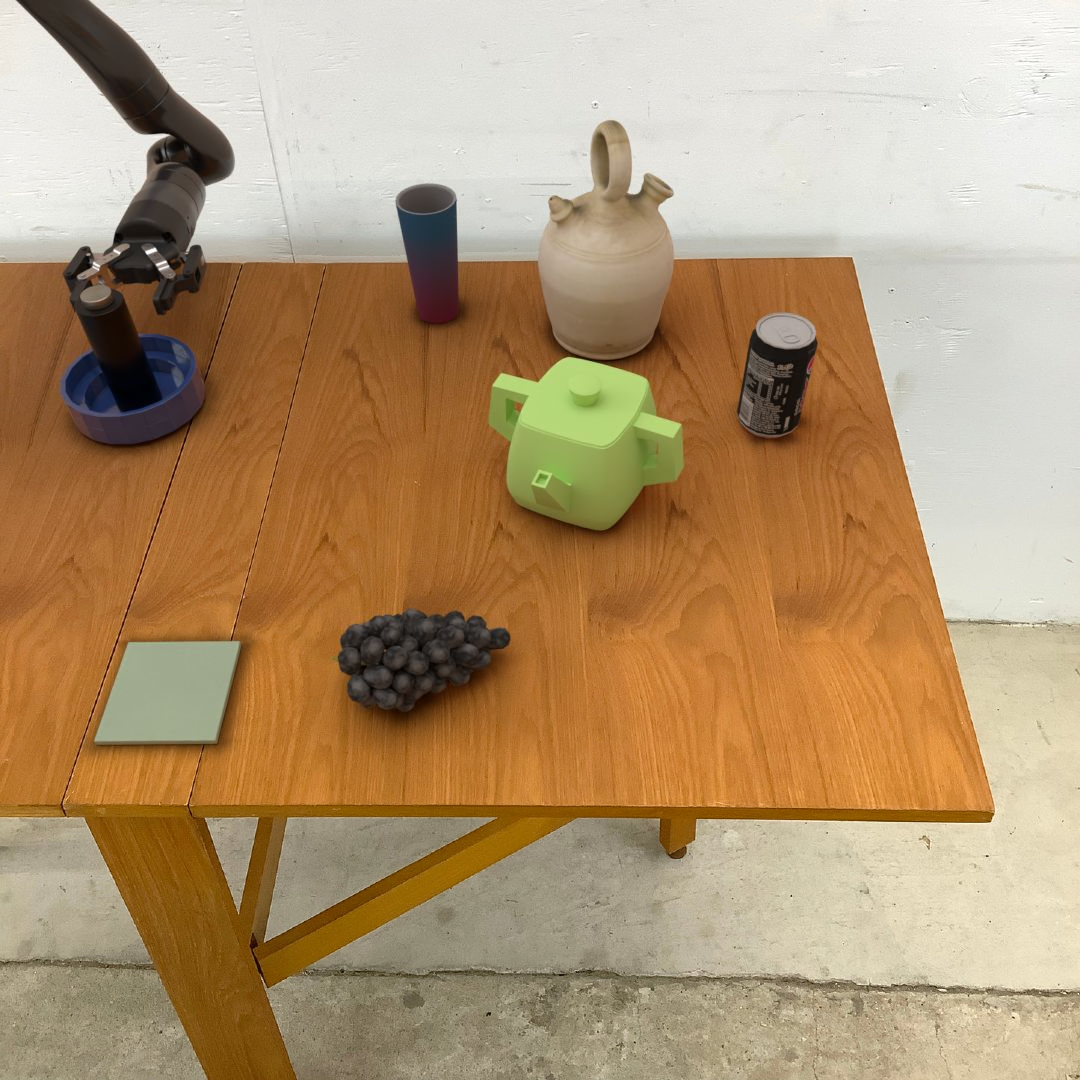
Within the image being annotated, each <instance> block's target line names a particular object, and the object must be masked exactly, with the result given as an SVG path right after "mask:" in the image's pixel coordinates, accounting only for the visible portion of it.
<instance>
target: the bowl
mask: <svg viewBox="0 0 1080 1080" xmlns="http://www.w3.org/2000/svg"><path fill="white" fill-rule="evenodd" d="M138 335H139V338H140V340H141V343H142V345H143V348H144V350H145V353H146V356H147V358H148V361H149V363H150V366H151V368H152V371H153V374H154V376H155V379H156V381H157V384H158V386H159V389H160V391H161V394H162V400H161V401H159V402H156V403H154V404H151V405H149V406H146V407H144V408H142V409H137V410H132V411H127V412H121V411H120V410H119V409H118V406H117V404H116V402H115V400H114V397H113V395H112V393H111V390H110V388H109V386H108V384H107V381H106V379H105V377H104V374H103V372H102V370H101V368H100V365H99V363H98V361H97V359H96V356H95V354H94V352H93V349H92V347H90V348H89V349H87V350H86V351H84V352H83V353H81V354H79V355H78V356H77V357H76V358H74V360H73V361H72V362H71V363H69V365H68V366H67V367H66V369H65V371H64V372H63V374H62V376H61V378H60V380H59V395H60V397H61V400H62V401H63V403H64V405H65V407H66V409H67V411H68V413H69V414H70V417H71V419H72V421H73V423H74V424H75V426H76V428H77V429H78V431H79V432H80V433H81V434H82V435H84V436H86V437H87V438H89V439H91V440H92V441H96V442H98V443H99V442H100V443H104V444H109V445H135V444H139V443H143V442H148V441H154V440H156V439H158V438H160V437H163V436H166V435H168V434H170V433H173V432H175V431H176V430H178V429H179V428H180V427H182V426H184V425H185V424H186V423H188V422H189V421H190V420H191V419H192V418H193V417H194V416H195V414H196V413H198V411H199V410H200V409H201V408H202V406H203V402H204V400H205V397H206V394H207V393H206V385H205V381H204V377H203V374H202V372H201V369H200V365H199V363H198V360H197V357H196V354H195V353H194V352H193V350H192V349H191V348H190V346H189V345H188V344H187V343H185V342H183V341H181V340H180V339H177V338H176V337H173V336H169V335H164V334H159V333H138Z"/></svg>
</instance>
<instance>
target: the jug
mask: <svg viewBox="0 0 1080 1080" xmlns="http://www.w3.org/2000/svg"><path fill="white" fill-rule="evenodd" d="M589 154H590V172H591V177H592V181H593V188H592V189H591V191H588V192H585V193H582V194H580V195H578V196H576V197H574V198H572V199H569V198H562V197H560V196H559V195H556V194H554V195H551V196H550V197H549V198H548V201H547V202H548V203H547V204H548V207H549V208H548V209H549V217H550V218H549V220H548V222H547V223H546V225H545V228H544V230H543V233H542V235H541V238H540V242H539V246H538V253H537V268H538V269H537V270H538V275H539V279H540V285H541V289H542V295H543V299H544V303H545V308H546V311H547V316H548V319H549V322H550V325H551V327H552V329H551V330H552V334H553V336H554V338H555V340H556V341H557V343H558V344H559V345H560V346H561V347H562V348H563V349H564V350H566V351H567V352H569V353H571V354H573V355H576V356H578V357H582V358H586V359H589V360H595V361H612V360H619V359H622V358H627V357H629V356H633V355H635V354H637V353H638V352H640V351H642V350H643V349H644V348H645V347H647V346H648V344H649V343H650V342H651V341H652V339H653V337H654V335H655V331H656V329H657V327H658V324H659V321H660V317H661V315H662V311H663V310H662V309H663V306H664V302H665V300H666V298H667V295H668V292H669V289H670V286H671V282H672V277H673V273H674V268H675V249H674V241H673V239H672V234H671V232H670V228H669V227H668V225H667V222H666V220H665V219H664V217H663V216H662V214H661V213H660V211H659V207H660V205H662V204H663V203H664V202H666V201H667V199H670V198H672V197H674V195H675V191H674V190H673V188H672V187H671V186H670V185H669V184H667V183H666V182H665V181H663V179H661V178H660V177H658V176H656V175H654V174H652V173H649V172H646V173H644V175H643V181H642V184H641V187H640V190H639V192H637V193H629V190H630V188H631V187H630V186H631V182H632V175H633V174H632V172H633V157H632V148H631V143H630V139H629V136H628V133H627V130H626V129H625V127H624V126H623V125H622V123H620V122H619V121H617V120H615V119H607V120H604V121H602V122H600V123H599V124H597V126H596V127H595V129H594V131H593V133H592V136H591V142H590V153H589Z"/></svg>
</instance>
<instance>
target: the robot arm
mask: <svg viewBox="0 0 1080 1080" xmlns="http://www.w3.org/2000/svg"><path fill="white" fill-rule="evenodd" d="M15 2H17V3H18V4H19V5H20V6H21V7H22V8H23V9H24V10H25V11H26V12H27V13H28V14H29V16H31V17H32V18H33V20H35V21H36V22H37V23H38V24H39V25H40V26H41V27H42V28H43V29H44V30H45V32H46V33H48V34H49V35H50V36H51V37H52V38H53V39H54V40H55V42H57V43H58V45H60V47H61V48H62V49H63V50H64V51H65V52H66V53H67V54H68V55H69V56H70V57H71V58H72V60H73V61H74V62H75V63H76V64H77V65H78V67H79V68H80V69H81V70H82V71H83V73H84V74H85V75H86V76H87V77H88V78H89V79H90V81H92V83H93V84H94V85H95V86H96V88H97V89H98V90H99V92H100V93H101V94H102V95H103V97H104V98H105V99H106V100H107V102H109V104H110V105H111V106H112V107H113V109H114V110H115V111H116V112H117V113H118V115H119V116H120V117H121V118H122V120H123V121H124V122H125V123H126V125H127V126H128V127H129V128H130V129H131V130H132V131H134V132H135V133H137V134H139V135H144V136H145V135H146V136H147V135H148V136H150V135H151V136H152V135H167V136H164V137H162V138H159V139H158V140H156V141H155V142H154V143H153V144H152V145H150V147H149V148H148V150H147V152H146V157H145V158H146V179H145V180H144V182H143V184H142V186H141V187H140V190H138V191H137V193H136V194H135V195H134V196H133V197H132V199H131V201H130V202H129V204H128V206H127V207H126V210H125V212H124V214H123V216H122V218H121V219H120V221H119V223H118V225H117V227H116V228H115V230H114V235H113V241H112V244H111V246H109V247H108V248H106V249H105V250H104V252H92V249H91V247H90V246H88V245H84V246H83V245H82V246H81V247H80V248H79V249H78V250H77V252H76V253H75V254H74V255H73V257H72V259H71V260H70V262H69V263H68V265H67V266H66V268H65V269H64V271H63V272H62V276H63V278H64V282H65V283H66V285H67V288H68V290H69V293H70V296H69V302H70V304H71V307H72V310H73V312H76V311H75V303H76V301H77V300H78V299H79V298H80V295H81V293H82V292H83V291H84V290H85V289H87V288H89V287H92V286H96V285H104V286H107V287H109V288H110V289H115V290H118V289H120V288H121V287H123V286H125V285H134V284H142V285H151V284H152V283H157V284H158V285H157V287H156V289H155V291H154V293H153V296H152V305H153V306H154V309H155V312H156V315H157V316H166V314H167V313H168V311H170V310H171V309H173V307H174V305H175V303H176V301H177V298H178V297H180V296H182V294H183V292H187V291H188V293H189V294H196V293H198V292H200V290H201V287H202V284H203V281H204V276H205V273H206V271H207V265H208V264H207V262H206V258H205V255H204V252H203V249H202V246H201V245H200V244H193V245H191V246H190V243H191V241H192V238H193V237H194V234H195V232H196V228H197V222H198V221H199V218H200V216H201V213H202V211H203V208H204V206H205V203H206V198H207V190H206V187H208V186H211V185H214V184H217V183H219V182H222V181H224V180H226V179H228V178H229V177H230V176H232V174H233V172H234V170H235V167H236V166H235V165H236V159H235V158H236V156H235V151H234V149H233V146H232V144H231V142H230V141H229V139H228V138H227V136H226V135H225V133H224V132H223V131H222V130H221V129H220V128H219V127H218V126H217V125H216V124H215V123H214V122H213V121H212V120H210V119H209V117H207V116H205V115H204V114H203V113H202V112H201V111H199V109H197V108H196V107H194V106H193V105H192V104H191V103H190V102H189V101H187V99H185V98H184V97H182V95H180V94H179V93H177V91H175V90H174V88H173V87H172V85H171V84H170V82H169V81H168V80H167V79H166V77H165V76H164V75H163V74H162V72H161V71H160V70H159V68H158V67H157V65H156V64H155V63H154V61H153V60H152V59H151V58H150V56H149V55H148V54H147V53H146V51H145V50H144V49H143V48H142V47H141V45H140V44H139V43H138V42H137V41H136V40H135V39H134V37H132V36H131V34H129V33H128V32H127V31H126V30H125V29H124V28H122V27H121V26H120V25H119V24H118V23H117V22H116V21H114V20H113V19H112V18H110V16H109V15H107V14H106V13H105V12H104V11H102V10H101V9H100V8H99V7H98V6H96V4H94V2H93V1H91V0H15ZM189 246H190V247H189ZM188 249H189V250H188ZM181 266H183V268H182V271H181V273H179V274H178V273H177V274H176V272H175V271H176V270H178V269H179V268H181ZM108 270H109V272H111V274H112V275H113V276H114V278H112V279H111V277H110V275H109V272H108ZM95 278H97V279H98V282H97V283H95V284H93V281H92V280H93V279H95Z"/></svg>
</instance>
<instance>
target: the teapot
mask: <svg viewBox="0 0 1080 1080" xmlns="http://www.w3.org/2000/svg"><path fill="white" fill-rule="evenodd" d="M515 403H519V404H522V405H523V406H522V408H521V409H520V412H519V411H518V410H516V409H515V407H516V406H515V405H516V404H515ZM488 411H489V412H488V420H487V423H488V424H487V425H488V426H489V427H491V428H492V429H493V430H494V431H496V432H497V433H499V435H501V436H502V437H504V438H505V439H506V440H507V441H509V442H510V446H509V449H508V454H507V455H508V456H507V462H506V463H507V465H506V486H507V489H508V492H509V494H510V496H511V497H512V499H513V500H514V501H515V502H516V503H517V505H519V506H521V507H522V508H525V509H527V510H530V511H532V512H535V513H537V514H541V515H543V516H545V517H547V518H551V519H554V520H558V521H561V522H563V523H567V524H570V525H575V526H578V527H581V528H584V529H585V528H586V529H589V530H594V531H605V530H608V529H610V528H611V527H613V526H614V525H615V524H616V523H618V521H619V520H620V519H621V518H622V517H623V516H624V514H625V513H626V512H627V511H628V510H629V508H630V507H631V506H632V504H634V502H635V500H636V499H637V498H638V496H639V495H640V493H641V491H642V490H643V489H644V487H645V486H652V485H658V484H665V483H666V484H667V483H671V482H676V481H677V480H678V478H679V477H680V475H681V473H682V472H683V470H684V468H685V459H684V442H683V441H684V440H683V425H682V423H680V422H676V421H673V420H670V419H667V418H663V417H660V416H658V413H657V408H656V404H655V399H654V396H653V392H652V389H651V385H650V383H649V380H648V379H647V378H646V377H644V376H642V375H639V374H636V373H635V372H630V371H628V370H625V369H621V368H617V367H613V366H610V365H608V364H607V365H606V364H604V363H599V362H595V361H590V360H587V359H582V358H577V357H571V356H567V357H565V358H561V359H560V360H559V361H557V362H556V363H555V364H554V365H552V366H551V367H550V368H549V369H548V370H547V371H546V373H545V374H544V375H543V376H542V377H541V378H540V379H539V381H538V382H537V381H534V380H530V379H527V378H523V377H519V376H515V375H511V374H507V373H503V372H500V373H499V376H498V377H497V378H496V379H495V381H494V382H493V384H492V385H491V391H490V402H489V409H488Z"/></svg>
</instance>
